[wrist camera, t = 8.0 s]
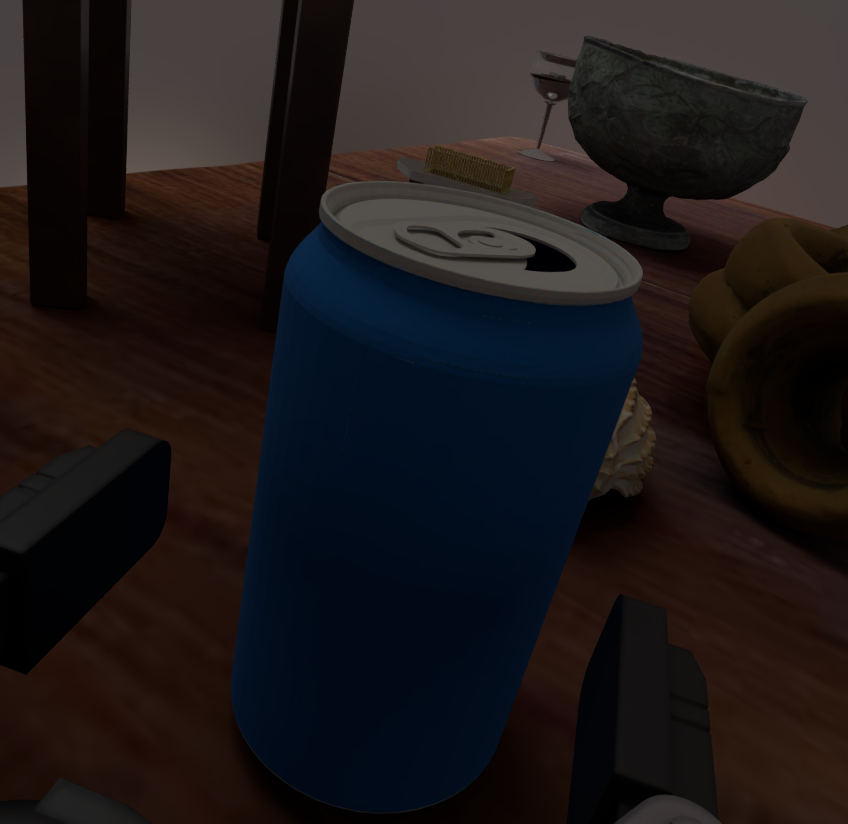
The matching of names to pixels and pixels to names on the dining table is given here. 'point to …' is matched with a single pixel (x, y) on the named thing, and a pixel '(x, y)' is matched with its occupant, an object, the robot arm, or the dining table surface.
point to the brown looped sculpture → (780, 371)
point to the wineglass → (550, 89)
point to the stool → (107, 134)
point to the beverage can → (421, 482)
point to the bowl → (671, 136)
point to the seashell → (628, 449)
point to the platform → (464, 176)
